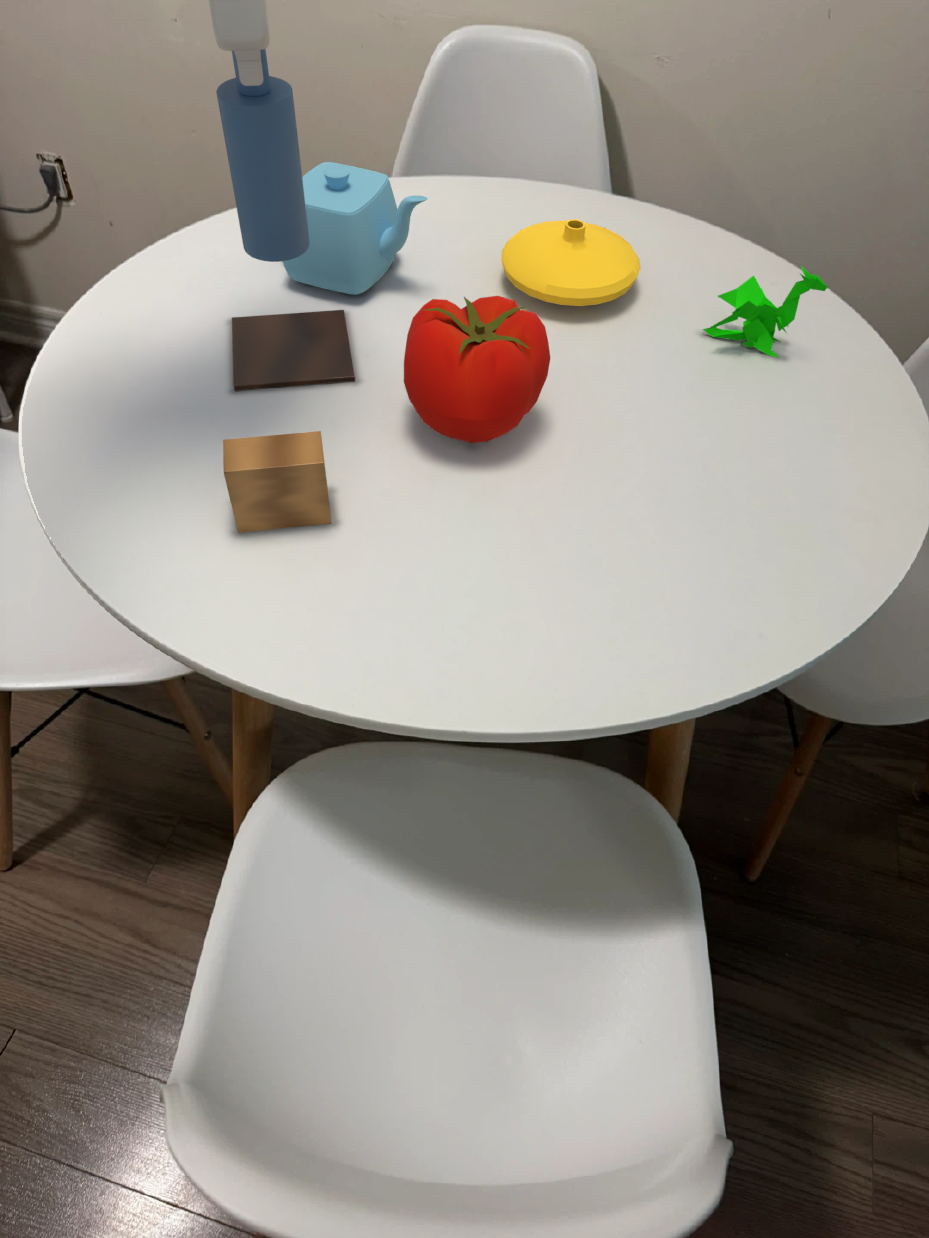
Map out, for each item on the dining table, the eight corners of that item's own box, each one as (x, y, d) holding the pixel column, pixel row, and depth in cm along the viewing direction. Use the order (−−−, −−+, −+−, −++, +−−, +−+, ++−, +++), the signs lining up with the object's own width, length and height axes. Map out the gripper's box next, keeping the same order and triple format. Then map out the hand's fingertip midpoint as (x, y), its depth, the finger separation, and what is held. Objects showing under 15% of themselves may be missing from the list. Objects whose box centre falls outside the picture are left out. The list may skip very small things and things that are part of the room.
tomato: (401, 461, 82) (397, 353, 72) (412, 368, 90) (410, 262, 81) (543, 468, 82) (558, 361, 72) (540, 375, 90) (553, 269, 81)
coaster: (234, 391, 87) (233, 386, 87) (232, 322, 94) (231, 317, 94) (355, 381, 89) (354, 376, 88) (344, 314, 96) (343, 309, 96)
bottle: (248, 281, 81) (216, 153, 64) (234, 154, 83) (199, -4, 65) (313, 277, 82) (300, 149, 64) (298, 151, 84) (281, -6, 66)
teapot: (406, 320, 96) (403, 217, 87) (259, 283, 99) (242, 180, 90) (447, 264, 103) (449, 164, 94) (309, 232, 107) (298, 133, 98)
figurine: (814, 367, 92) (829, 285, 85) (697, 362, 95) (702, 283, 88) (818, 335, 95) (832, 253, 89) (704, 331, 99) (710, 252, 92)
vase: (479, 259, 104) (483, 200, 99) (600, 240, 108) (609, 182, 102) (530, 333, 95) (536, 272, 89) (659, 310, 99) (673, 250, 93)
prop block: (238, 533, 75) (223, 472, 70) (237, 500, 78) (222, 439, 72) (331, 523, 76) (324, 462, 71) (328, 492, 79) (320, 430, 73)
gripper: (272, -117, 52) (299, 128, 63) (261, -192, 65) (285, 24, 76) (164, -116, 52) (210, 131, 63) (174, -192, 64) (211, 26, 75)
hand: (251, 72), depth 69 cm, fingers closed on bottle, 2 cm apart
